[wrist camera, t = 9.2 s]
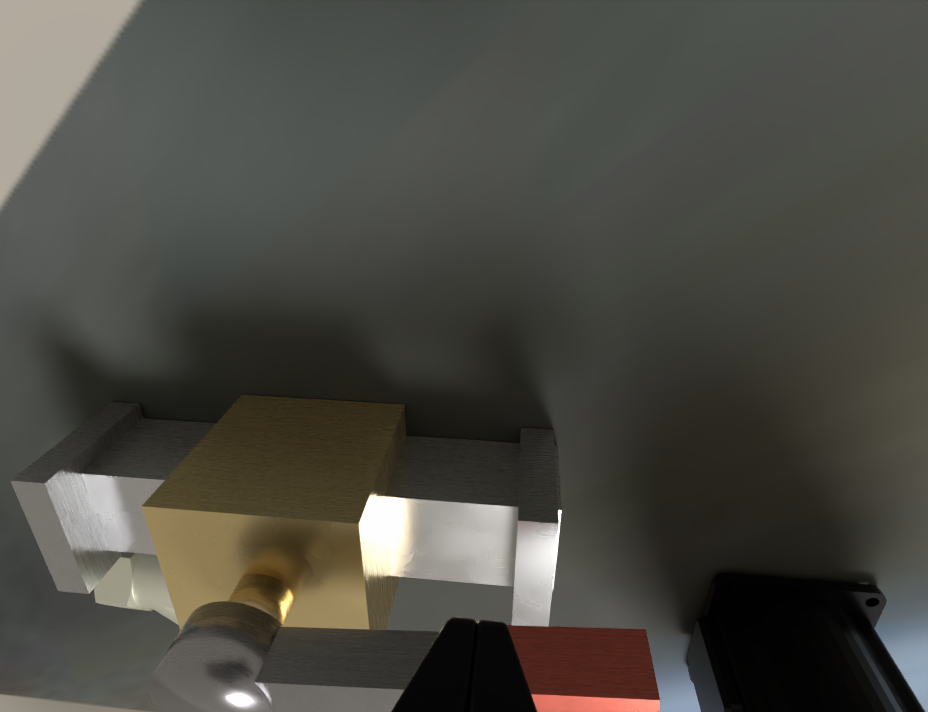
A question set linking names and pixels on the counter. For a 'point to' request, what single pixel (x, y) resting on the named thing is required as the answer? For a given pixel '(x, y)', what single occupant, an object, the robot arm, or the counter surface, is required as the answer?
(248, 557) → the valve
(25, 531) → the counter surface
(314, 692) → the lever
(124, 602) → the pipe fitting
